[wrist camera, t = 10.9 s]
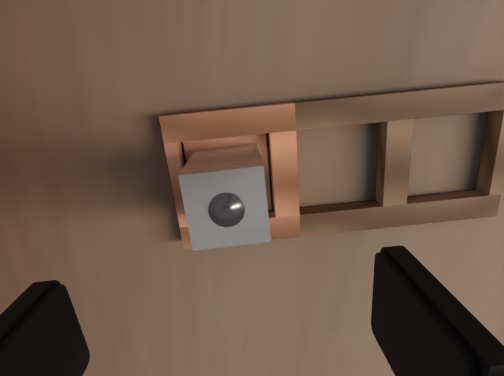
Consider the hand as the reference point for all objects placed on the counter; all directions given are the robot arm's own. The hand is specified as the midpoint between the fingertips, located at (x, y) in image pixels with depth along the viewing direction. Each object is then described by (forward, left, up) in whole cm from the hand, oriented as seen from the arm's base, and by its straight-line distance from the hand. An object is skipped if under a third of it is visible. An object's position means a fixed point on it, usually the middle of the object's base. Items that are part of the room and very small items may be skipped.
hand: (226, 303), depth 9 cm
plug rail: (+1, +9, -17) cm, 19 cm away
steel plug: (+1, 0, -16) cm, 16 cm away
